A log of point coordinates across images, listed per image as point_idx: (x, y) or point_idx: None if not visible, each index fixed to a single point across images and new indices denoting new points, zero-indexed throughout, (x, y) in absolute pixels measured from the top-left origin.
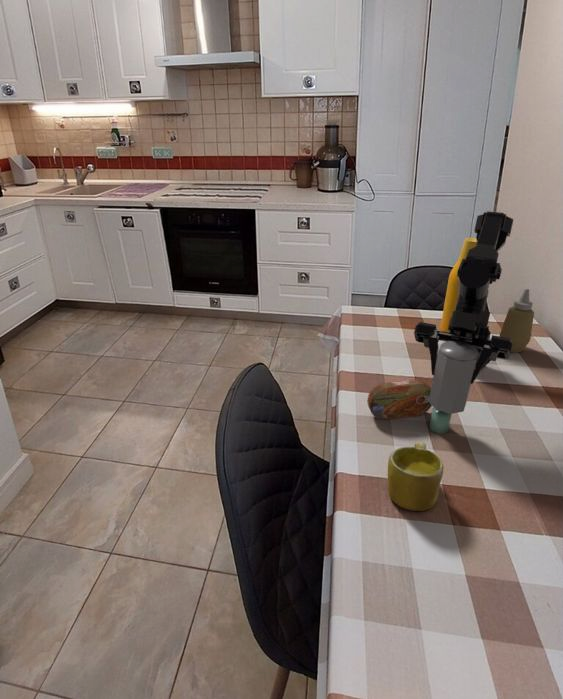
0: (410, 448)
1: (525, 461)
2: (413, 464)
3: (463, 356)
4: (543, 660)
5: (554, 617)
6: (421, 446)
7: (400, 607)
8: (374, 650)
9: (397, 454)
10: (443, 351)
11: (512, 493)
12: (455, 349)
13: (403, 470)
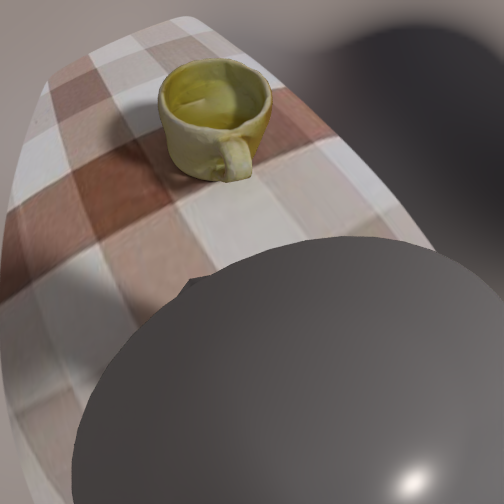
0: (247, 120)
1: (47, 383)
2: (226, 125)
3: (217, 352)
4: (52, 84)
5: (34, 116)
6: (229, 141)
7: (166, 50)
8: (174, 29)
9: (262, 105)
10: (480, 288)
11: (54, 262)
12: (411, 469)
13: (235, 107)
